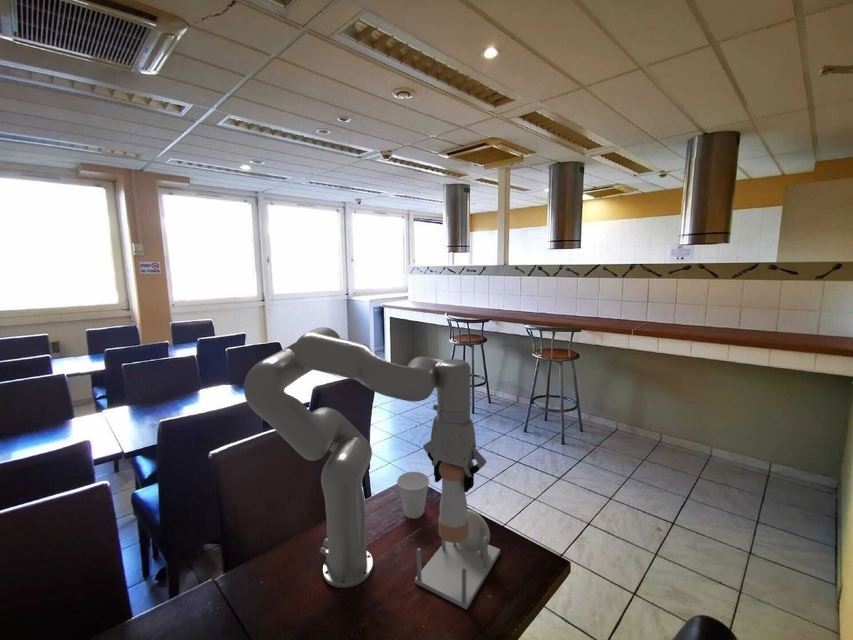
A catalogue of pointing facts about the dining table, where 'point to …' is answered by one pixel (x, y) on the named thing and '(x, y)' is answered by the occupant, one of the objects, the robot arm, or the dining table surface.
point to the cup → (413, 493)
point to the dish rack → (460, 564)
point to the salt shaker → (452, 504)
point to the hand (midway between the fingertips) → (453, 483)
